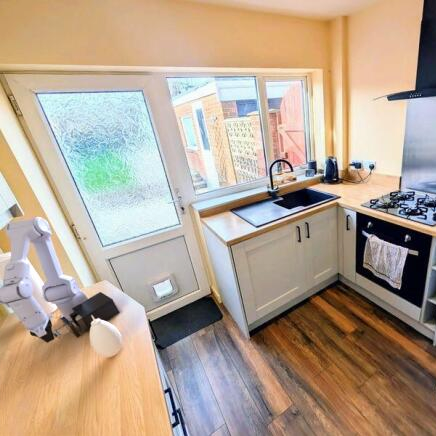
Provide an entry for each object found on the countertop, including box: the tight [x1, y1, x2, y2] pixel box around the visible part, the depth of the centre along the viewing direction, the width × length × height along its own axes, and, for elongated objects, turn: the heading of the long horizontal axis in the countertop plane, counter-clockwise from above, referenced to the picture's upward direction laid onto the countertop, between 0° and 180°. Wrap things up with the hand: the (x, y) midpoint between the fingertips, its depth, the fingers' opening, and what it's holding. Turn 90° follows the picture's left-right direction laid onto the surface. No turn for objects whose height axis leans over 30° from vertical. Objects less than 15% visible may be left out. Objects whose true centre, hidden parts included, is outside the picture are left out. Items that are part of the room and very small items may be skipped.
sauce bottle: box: [89, 316, 123, 358], centre depth 82 cm, size 8×8×18 cm
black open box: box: [52, 312, 89, 340], centre depth 96 cm, size 14×9×6 cm
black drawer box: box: [72, 291, 120, 331], centre depth 101 cm, size 11×11×8 cm
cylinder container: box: [0, 251, 58, 315], centre depth 103 cm, size 9×9×30 cm
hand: (50, 340), depth 90 cm, fingers closed
